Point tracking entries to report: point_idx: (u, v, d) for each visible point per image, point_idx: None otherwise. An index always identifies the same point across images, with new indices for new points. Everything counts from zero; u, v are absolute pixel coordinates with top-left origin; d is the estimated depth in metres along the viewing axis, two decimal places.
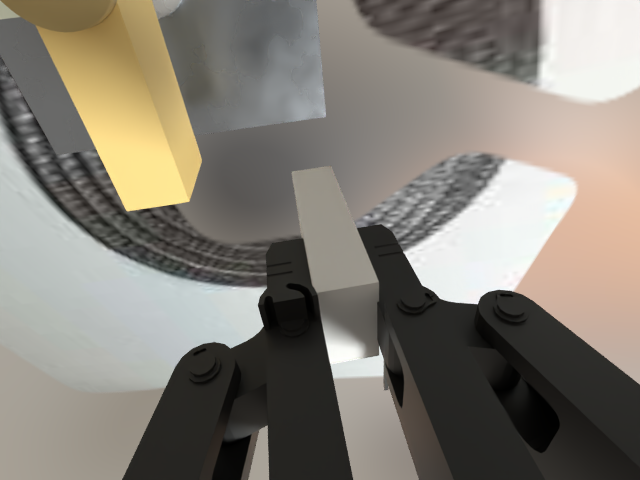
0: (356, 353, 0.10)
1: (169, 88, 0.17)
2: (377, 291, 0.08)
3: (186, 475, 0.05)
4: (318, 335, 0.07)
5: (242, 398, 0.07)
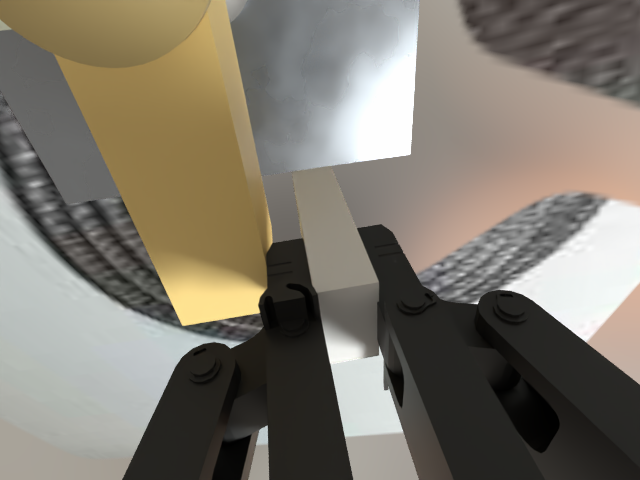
0: (356, 353, 0.10)
1: (249, 139, 0.11)
2: (377, 291, 0.08)
3: (186, 475, 0.05)
4: (318, 335, 0.07)
5: (242, 398, 0.07)
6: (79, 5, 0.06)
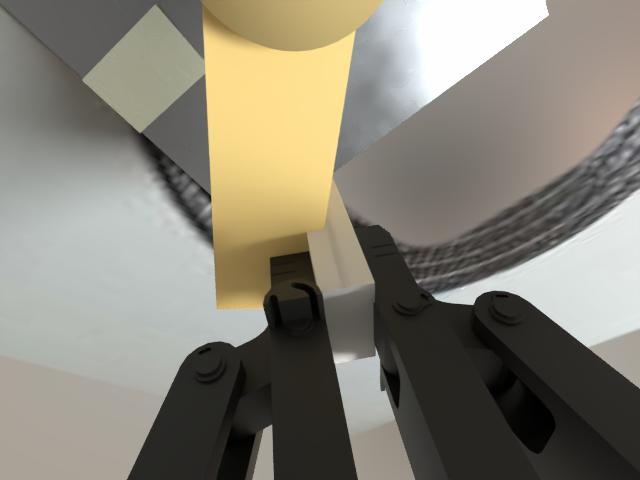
0: (353, 354, 0.10)
1: None
2: (373, 292, 0.08)
3: (191, 474, 0.05)
4: (322, 334, 0.07)
5: (247, 397, 0.07)
6: None
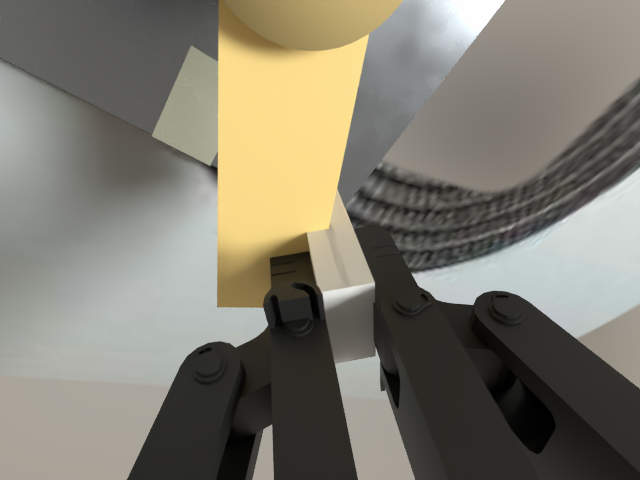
0: (353, 354, 0.10)
1: None
2: (373, 292, 0.08)
3: (191, 474, 0.05)
4: (322, 334, 0.07)
5: (247, 398, 0.07)
6: None
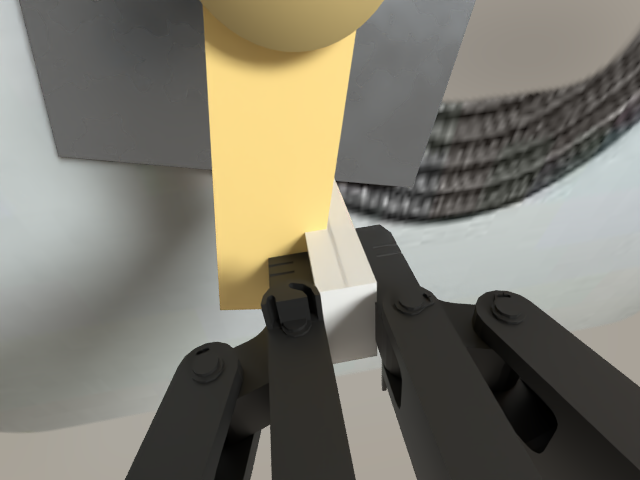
0: (355, 354, 0.10)
1: None
2: (375, 291, 0.08)
3: (189, 475, 0.05)
4: (320, 335, 0.07)
5: (245, 398, 0.07)
6: None
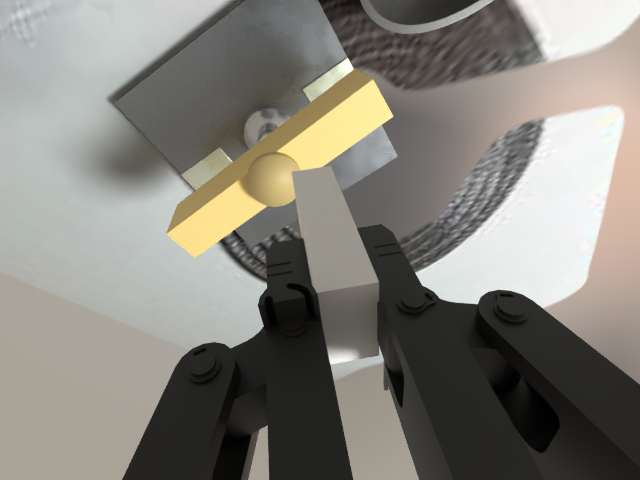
0: (356, 353, 0.10)
1: None
2: (377, 291, 0.08)
3: (186, 475, 0.05)
4: (318, 335, 0.07)
5: (242, 398, 0.07)
6: (260, 186, 0.26)
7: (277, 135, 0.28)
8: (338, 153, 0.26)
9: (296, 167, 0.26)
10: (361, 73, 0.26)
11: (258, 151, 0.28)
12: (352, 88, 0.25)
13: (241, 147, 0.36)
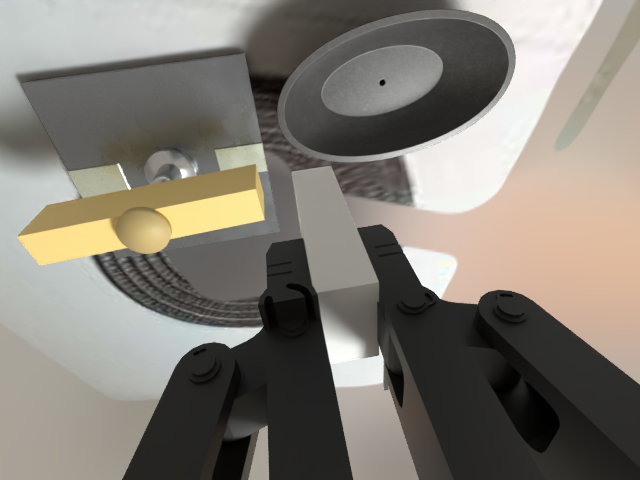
0: (356, 353, 0.10)
1: None
2: (377, 291, 0.08)
3: (186, 475, 0.05)
4: (318, 335, 0.07)
5: (242, 398, 0.07)
6: (128, 232, 0.28)
7: (166, 190, 0.31)
8: (210, 229, 0.30)
9: (167, 229, 0.29)
10: (254, 174, 0.31)
11: (143, 196, 0.31)
12: (239, 186, 0.29)
13: (139, 171, 0.38)
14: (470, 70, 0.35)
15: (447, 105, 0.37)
